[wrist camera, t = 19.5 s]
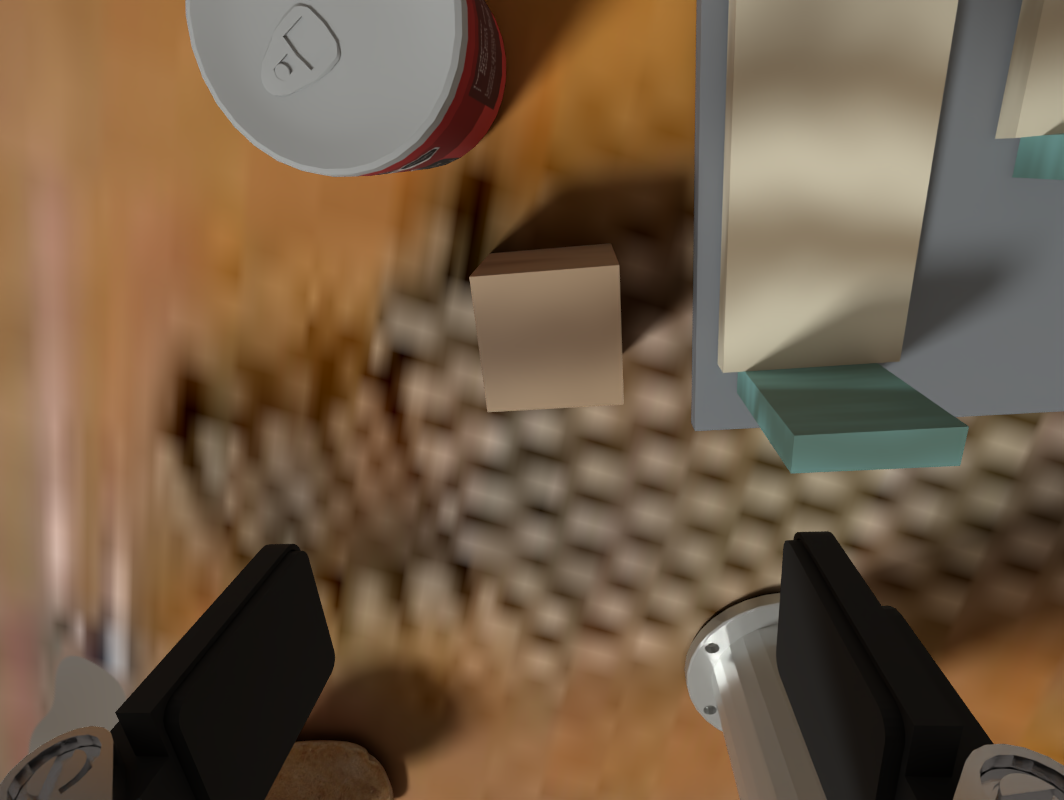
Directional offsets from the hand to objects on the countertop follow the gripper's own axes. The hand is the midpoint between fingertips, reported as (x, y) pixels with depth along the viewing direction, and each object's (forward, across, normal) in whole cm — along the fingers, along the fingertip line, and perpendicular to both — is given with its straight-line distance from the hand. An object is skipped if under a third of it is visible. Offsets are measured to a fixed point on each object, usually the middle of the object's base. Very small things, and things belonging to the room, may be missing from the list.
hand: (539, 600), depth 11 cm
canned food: (+20, +6, -13) cm, 24 cm away
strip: (+19, -11, -9) cm, 24 cm away
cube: (+20, +1, -2) cm, 20 cm away
